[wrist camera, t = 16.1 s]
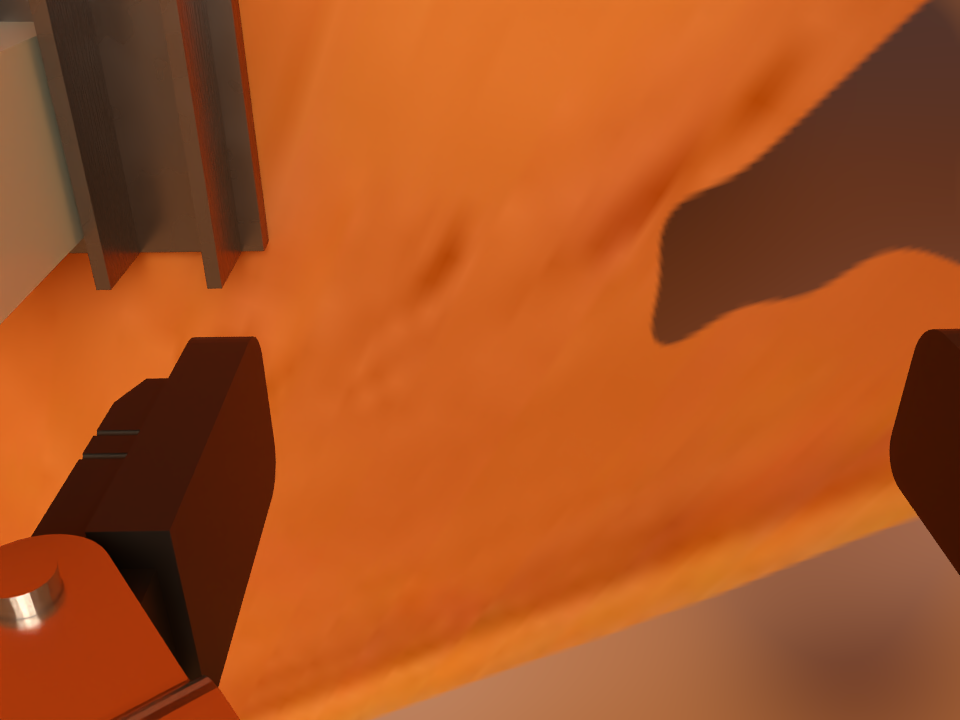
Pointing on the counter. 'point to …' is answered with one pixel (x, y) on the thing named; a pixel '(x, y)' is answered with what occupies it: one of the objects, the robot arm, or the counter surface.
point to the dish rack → (153, 128)
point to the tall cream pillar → (30, 172)
